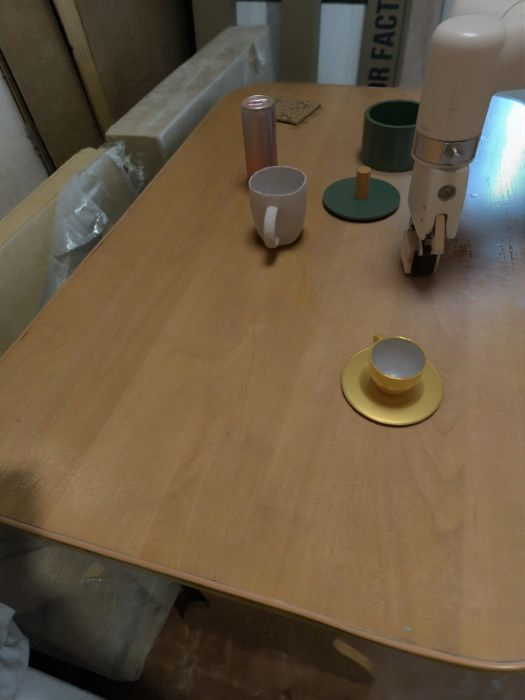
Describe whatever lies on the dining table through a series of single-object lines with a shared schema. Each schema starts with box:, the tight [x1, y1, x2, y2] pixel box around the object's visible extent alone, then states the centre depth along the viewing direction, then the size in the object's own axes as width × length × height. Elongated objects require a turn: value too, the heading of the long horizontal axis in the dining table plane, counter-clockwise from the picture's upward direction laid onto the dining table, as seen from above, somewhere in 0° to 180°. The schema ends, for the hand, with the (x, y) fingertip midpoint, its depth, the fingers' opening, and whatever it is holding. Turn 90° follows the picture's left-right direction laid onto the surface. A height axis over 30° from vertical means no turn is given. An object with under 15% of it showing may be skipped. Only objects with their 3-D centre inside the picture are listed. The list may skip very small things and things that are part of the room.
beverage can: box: [240, 94, 279, 184], centre depth 83 cm, size 6×6×15 cm
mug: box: [248, 165, 308, 249], centre depth 72 cm, size 13×9×10 cm
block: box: [399, 229, 442, 274], centre depth 67 cm, size 4×4×4 cm
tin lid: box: [322, 165, 401, 221], centre depth 80 cm, size 14×14×6 cm
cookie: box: [273, 95, 322, 126], centre depth 109 cm, size 12×12×1 cm
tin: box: [360, 99, 420, 173], centre depth 89 cm, size 13×13×8 cm
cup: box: [340, 333, 444, 426], centre depth 53 cm, size 12×12×5 cm
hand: (418, 261), depth 69 cm, fingers closed on block, 4 cm apart
